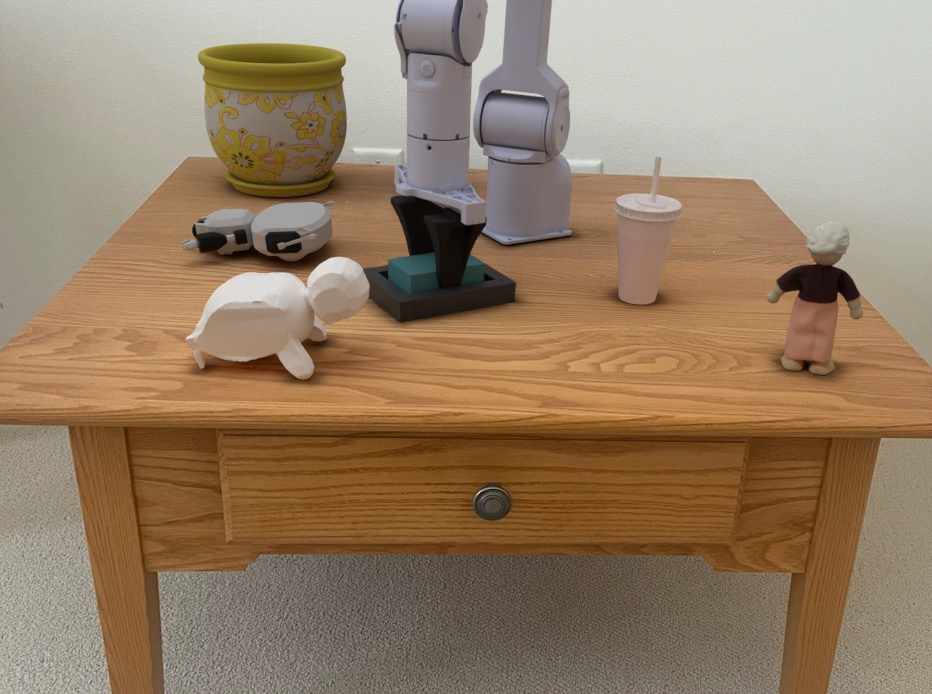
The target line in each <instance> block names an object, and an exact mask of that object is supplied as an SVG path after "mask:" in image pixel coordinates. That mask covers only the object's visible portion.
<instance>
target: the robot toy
mask: <svg viewBox="0 0 932 694" xmlns="http://www.w3.org/2000/svg"><path fill="white" fill-rule="evenodd" d="M334 204H335V201H332V200H330V201H327V202H326V203H319V202H317V201H306V202H281V203H277V204H273V205H270V206H268V207H267V208H264V209H263V210H262V211H260V212H259V213H257V215H256V214H255V213H254V212H253V211H252V210H251V209H248V208H247V209H245V208H221V209H217V210H215V211H212V212H211V213H210V214H209V215H208V214H207V215H206V216H205V215H204V216H202V217H199V218H198V220H197V221H196V222H194V223H193V225H192V227H191V233H192V236H193V237H194V238H195V239H190V238H189V239H185V240H183V241H182V242H181V248H182V249H183V250H184V251H186V252H187V251H194V250H199V253H200V254H205V253H210V252H218V255H220V256H227V255H232V254H233V252H240V251H248V250H249V249H250V248H251V247H252V246H253V248H254V249H255V250H257V251H258V252H259V253H261V254H263V255H265V256H268V257H275V256H276V257H278V258H279V259H282V260H283V261H286V262H297V261H301V259H303V258H305V257H306V255H307V254H311V253H314V252H316V251H318V250H319V249H321V248H322V247H324V245H326V243H328V241H329V240H330V239H331V238H332V237H333V236H334V235H333V234H334V233H333V232H334V231H333V229H334V228H333V222H332V214H331V213H332V212H331V211H330V209H328V208H327V207H331V206H333V205H334Z"/></svg>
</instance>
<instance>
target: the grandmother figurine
mask: <svg viewBox="0 0 932 694" xmlns="http://www.w3.org/2000/svg"><path fill="white" fill-rule="evenodd" d="M850 239H851V238H850V232H849V229H848V227H847V226H846V225H845V224H843V223H841V222H836V221H832V220H831V221H827V222H824V223H821V224H818V225H817V226H816V227H815V228H814V229H813V230H812V232H811V233H809V234H808V235H807V238H806V245H805V246H804V248H805V249H807V250H808V251H809V253H810V256H811V258H812V260H813V262H814V264H813V263H812V264H811V263H810V264H808V263H807V264H801V265H797V266H794V267H792V268H790V269H789V270H787V271H786V272H784V273H783V274H781V276H779V277H778V278H777V279H776V280H775V281H776V283H775V284H774V285H773V287H772V290H771V291H770V292H768V294H767V295H766V300H767V302H768V303H769V304H776V303H778V302H779V301H780V298H781V297H782V296H783V295H784V294H785V293H790V292H797V291H798V293H797V296H796V297H795V298H794V301H793V305H792V308H791V313H790V316H789V322H788V325H787V331H786V338H785V344H784V345H785V346H784V354H783V355H782V356H781V358H780V362H781V365H782V367H783V368H784V369H785V370H788V371H793V372H794V371H795V372H800V371H802V370H803V368H804V365H805V361H810V364H809V367H808V371H809V372H810V373H812V374H815V375H819V376H826V375H828V374H829V373H831V372H832V371H834V370H835V363H834V362H833V360H832V355H833V350H834V345H835V338H836V331H837V330H836V329H837V324H838V315H839V303H838V294H840V295H841V296H842V298H843V299H844V301H846V303H847V307H848V309H849V316H850V318H851V319H852V320H857V321H858V320H861V319H862V318H863V316H864V311H863V309H862V301H861V293H860V291H859V290H858V287H857V285H856V283H855V281H854V279H853V277H852V276H851V275H850V273H848V272H847V271H846V270H844V269H843V268H840V267H837V266H834V265H836V264H837V263H839V262H840V261H841V259H842V258H843V256H844V255H847V249H848V248H849V246H850Z"/></svg>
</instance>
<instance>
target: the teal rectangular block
mask: <svg viewBox="0 0 932 694" xmlns="http://www.w3.org/2000/svg"><path fill="white" fill-rule="evenodd" d="M471 255H472V254H471ZM471 255H470V256H469V259H468V262H467V265H466V269H465V273H464V276H463V279H462V283H461V285H466V284H472V283H478V282H484V266H485V264H486V263H485V262H484V261H482V260H480V259H479V260H480V261H479V260H478V258H477V257H476V258H477V259H476V258H474V257H475V256H474V255H472V256H471ZM473 256H474V257H473ZM481 261H482V262H481ZM483 262H484V263H485V264H484V263H483ZM387 265H388V280H389V281H390V282H392V283H393V284H394V285H396V286H397V287H398V288H400V289H401V290H402V291H404V292H405V293H406V294H412V293H418V292H424V291H430V290H436V289H442V288H440V287H439V284H438V280H437V274H436V263H435V253H434V252H433V253H426V254H420V255H413V256H409V255H407V256H401V257H394V258H388V259H387Z"/></svg>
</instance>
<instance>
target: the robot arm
mask: <svg viewBox="0 0 932 694" xmlns="http://www.w3.org/2000/svg"><path fill="white" fill-rule="evenodd" d="M505 1H506V2H505V16H504V17H505V18H504V28H503V29H504V30H503V31H504V32H503V44H502V45H503V46H502V60H501V61H502V62H501V64H499V65H498V66H497V67H495V68H494V69H493V70H491V71H489V72H488V73H486V75H484V77H482V79H481V80H480V81H479V82H480V83H479V85H478V95H477V99H476V100H477V101H476V104H475V107H474V111H473V116H472V132H473V136H474V139H475V141H476V143H477V145H478V146H479V147H480V148H482V155H483V156H486V157H487V175H486V177H487V178H486V198H485V199H486V201H485V200H484V199H482V198H481V197H480V196H479V195H478V193H477V191H476V190H475V188H474V187H473V185H472V183H471V182H470V181H469V179H470V178H469V175H470V173H469V172H470V147H471V142H470V141H471V115H472V114H471V113H472V112H471V111H472V81H473V63H474V62H475V61H476V60H477V59H478V57H479V55H480V53H481V50H482V48H483V45H484V40H485V34H486V20H487V15H488V8H489V3H488V1H487V0H399V1H398V5H397V8H396V13H395V22H394V24H393V32H394V41H395V45H396V48H397V50H398V53H399V56H400V57H399V58H400V73H401V76H402V79H405V80H406V164H397V165H394V169H393V170H394V172H393V173H394V180H393V181H394V186H395V192H396V193H397V194H399V195H394V196H391V197H390V205H391V207H392V208H393V210H394V212H395V213H396V216H397V218H398V220H399V223H400V226H401V228H402V232H403V235H404V238H405V242H406V247H407V251H408V256H413V255H420V254H426V253H433V252H434V253H435V263H436V274H437V280H438V284H439V287H440V288H448V287H454V286H460V285H461V283H462V279H463V276H464V273H465V269H466V265H467V262H468V259H469V256H470V254H471V253H472V250H473V248H474V246H475V244H476V241H477V240H478V238H479V237H480V235H481V234H484V235H486V236H487V237H489V238H490V239H493V240H494V241H497V242H498V243H500V244H502V245H505V246H506V245H514V244H521V243H528V242H535V241H541V240H548V239H555V238H562V237H568V236H572V233H573V230H571V229H569V223H570V213H571V200H572V190H573V189H572V187H573V175H572V171H571V170H572V169H571V167H570V163H569V162H568V160H567V158H566V157H565V156H564V155H562V154H561V153H562V152H563V151H564V149H565V148H566V145H567V142H568V139H569V134H570V127H571V110H570V86H569V85H568V84H567V82H566V81H565V80H564V79H563V78H562V77H561V76H560V75H559V74H558V73H557V72H556V71H555V70H554V69H553V68H552V67H551V65H549V63H548V53H549V43H550V42H549V41H550V30H551V18H552V6H553V0H505ZM502 91H507V92H502ZM508 91H509V92H508ZM511 92H516V93H511ZM517 92H519V93H526V94H519V93H517ZM529 94H535V95H529ZM536 95H540V96H536Z"/></svg>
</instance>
